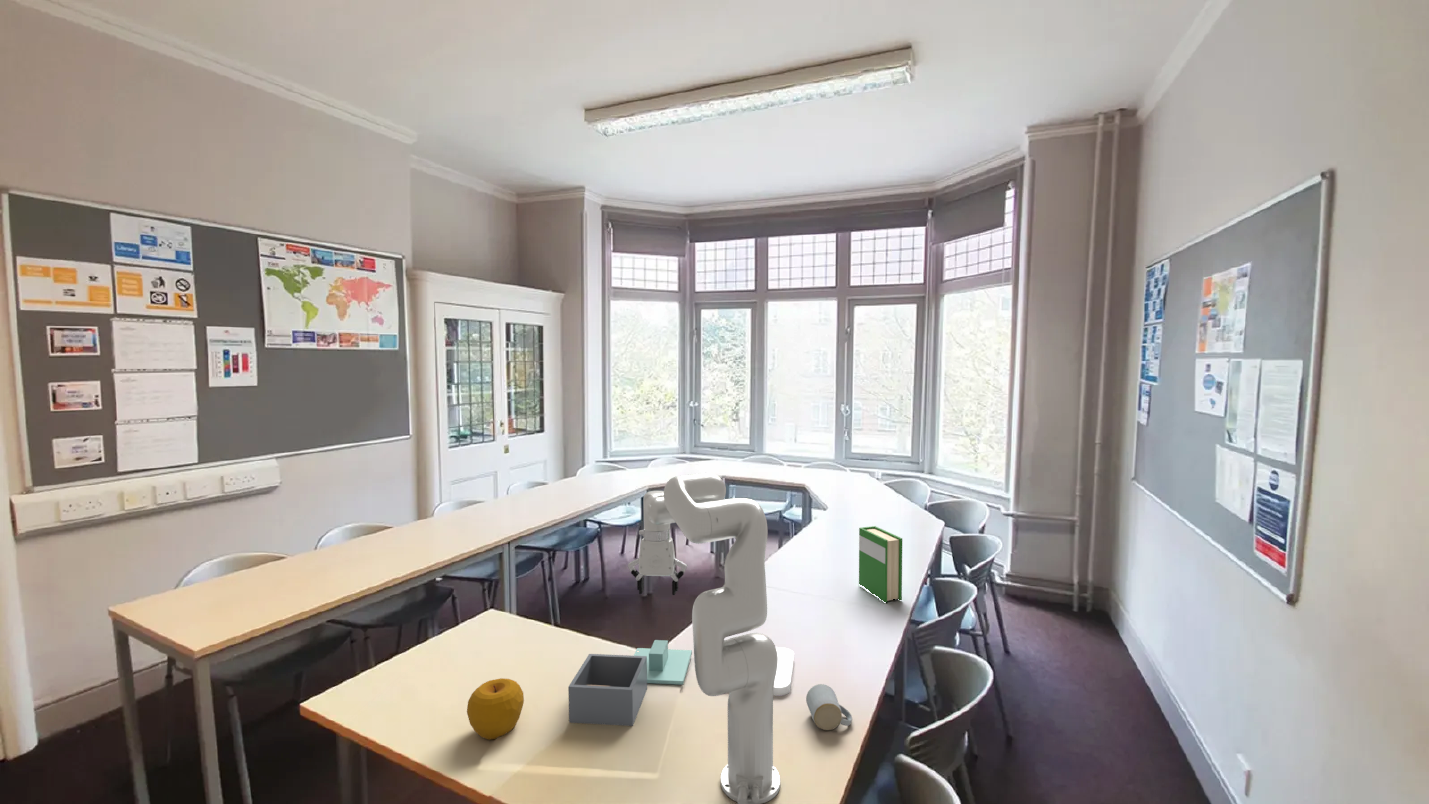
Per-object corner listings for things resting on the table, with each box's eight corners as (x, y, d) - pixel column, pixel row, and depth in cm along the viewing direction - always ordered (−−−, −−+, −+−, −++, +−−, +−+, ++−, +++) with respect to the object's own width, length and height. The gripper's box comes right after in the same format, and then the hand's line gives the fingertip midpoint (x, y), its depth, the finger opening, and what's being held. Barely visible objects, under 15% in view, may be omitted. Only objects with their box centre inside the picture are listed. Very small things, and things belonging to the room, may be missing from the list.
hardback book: (901, 601, 209) (902, 538, 208) (884, 603, 207) (885, 540, 206) (874, 584, 226) (875, 526, 225) (858, 586, 224) (859, 527, 223)
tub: (633, 729, 135) (632, 689, 134) (569, 726, 136) (568, 686, 136) (647, 692, 151) (646, 656, 150) (590, 689, 152) (589, 653, 152)
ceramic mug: (813, 733, 133) (814, 702, 133) (805, 712, 141) (806, 683, 141) (856, 732, 134) (857, 701, 133) (846, 711, 142) (847, 682, 141)
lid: (683, 690, 152) (682, 663, 152) (622, 687, 154) (622, 660, 154) (692, 658, 169) (691, 634, 169) (637, 655, 171) (636, 632, 170)
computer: (789, 698, 148) (789, 688, 148) (708, 689, 153) (708, 679, 152) (794, 657, 169) (794, 648, 169) (724, 650, 174) (723, 641, 174)
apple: (457, 735, 133) (455, 689, 133) (503, 708, 144) (502, 665, 143) (489, 755, 126) (488, 707, 125) (536, 725, 137) (535, 680, 136)
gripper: (624, 537, 156) (625, 597, 157) (684, 539, 155) (685, 599, 156) (630, 530, 164) (631, 587, 165) (688, 531, 162) (689, 588, 163)
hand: (657, 592), depth 160 cm, fingers open, 9 cm apart
